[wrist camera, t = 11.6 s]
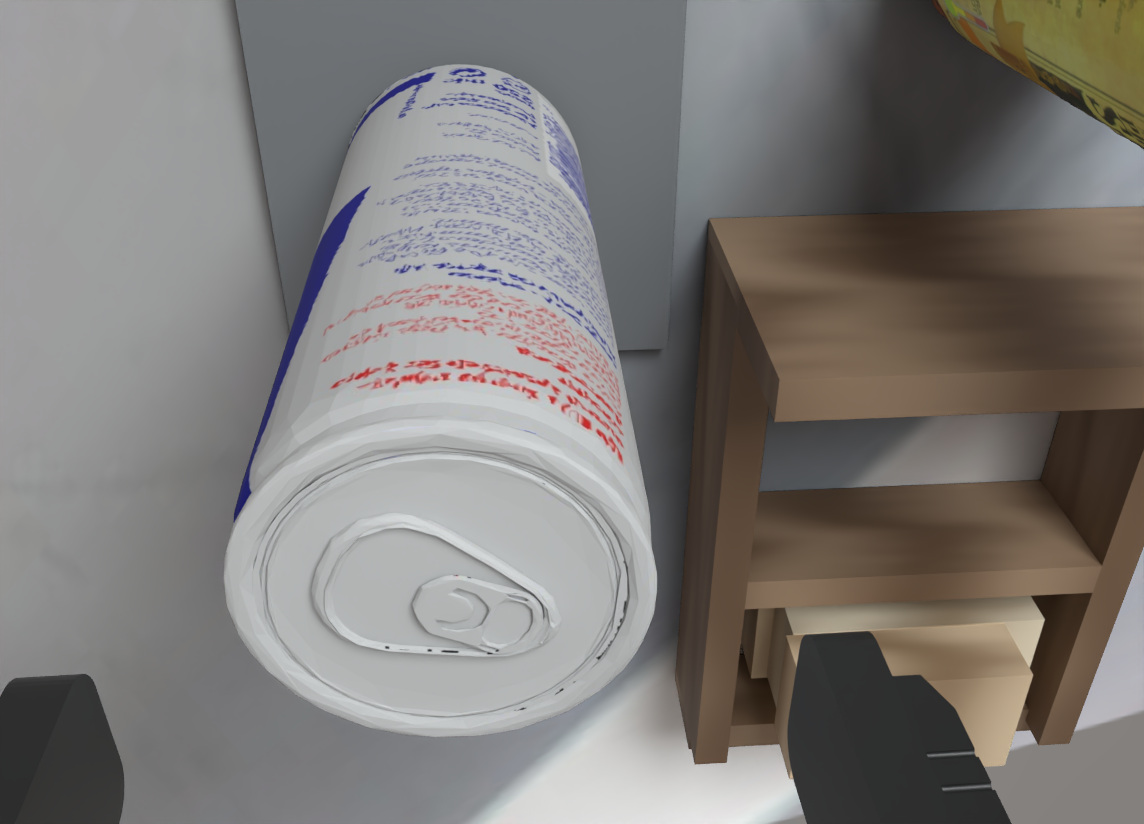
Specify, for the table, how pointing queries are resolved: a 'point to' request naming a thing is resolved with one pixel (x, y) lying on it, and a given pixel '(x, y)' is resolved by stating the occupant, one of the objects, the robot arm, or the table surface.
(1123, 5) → the sauce bottle
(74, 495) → the table surface
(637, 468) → the beverage can
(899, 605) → the offcut stack
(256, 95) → the rubber mat
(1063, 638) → the tray
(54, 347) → the table surface
